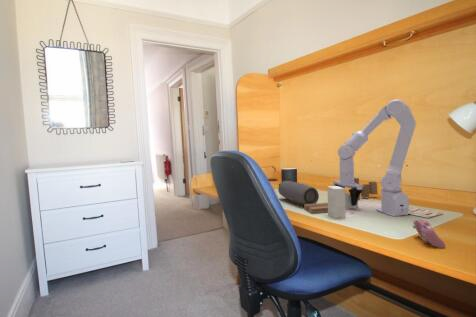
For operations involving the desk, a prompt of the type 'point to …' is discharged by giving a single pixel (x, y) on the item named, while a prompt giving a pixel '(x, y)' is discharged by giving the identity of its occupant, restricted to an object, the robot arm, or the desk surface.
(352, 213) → the cream rectangular panel
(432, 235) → the pink lumpy wedge
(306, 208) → the base slab
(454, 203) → the desk surface
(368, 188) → the wooden block set
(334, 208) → the skincare box
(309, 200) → the bluetooth speaker
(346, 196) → the brick
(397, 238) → the desk surface
